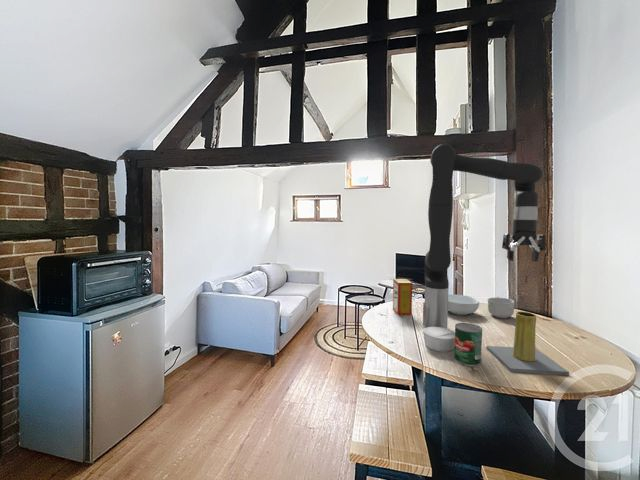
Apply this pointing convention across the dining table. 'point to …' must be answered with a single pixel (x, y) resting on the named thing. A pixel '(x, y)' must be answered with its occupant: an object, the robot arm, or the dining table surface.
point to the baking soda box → (402, 296)
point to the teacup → (501, 307)
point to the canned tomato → (468, 344)
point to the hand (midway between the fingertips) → (522, 260)
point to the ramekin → (439, 338)
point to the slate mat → (526, 362)
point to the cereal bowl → (462, 304)
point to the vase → (525, 336)
